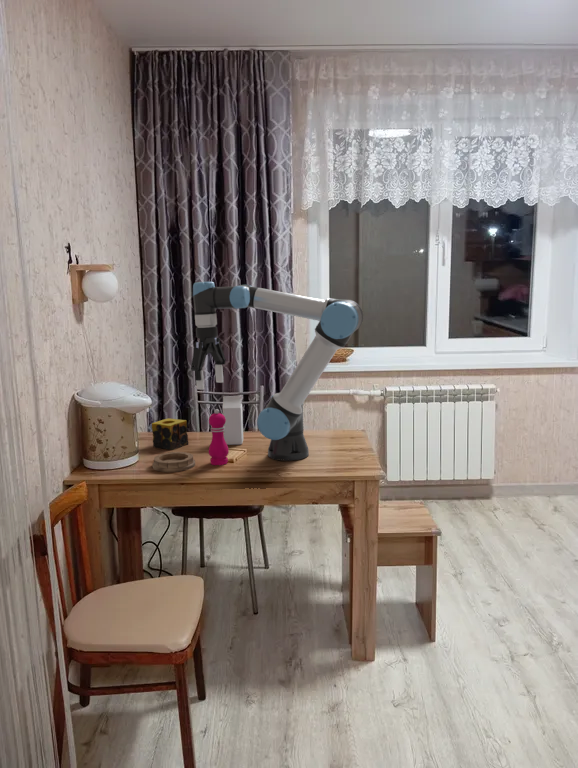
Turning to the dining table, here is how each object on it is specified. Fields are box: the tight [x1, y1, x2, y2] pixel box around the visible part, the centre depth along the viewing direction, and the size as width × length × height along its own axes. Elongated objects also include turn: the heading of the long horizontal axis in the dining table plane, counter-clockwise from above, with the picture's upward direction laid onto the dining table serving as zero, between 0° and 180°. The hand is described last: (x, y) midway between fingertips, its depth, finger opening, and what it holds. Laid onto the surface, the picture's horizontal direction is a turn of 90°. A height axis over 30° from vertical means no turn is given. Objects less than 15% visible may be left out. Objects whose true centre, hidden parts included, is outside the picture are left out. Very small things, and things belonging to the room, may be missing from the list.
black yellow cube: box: [151, 418, 189, 451], centre depth 270 cm, size 10×10×10 cm
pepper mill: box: [208, 408, 230, 466], centre depth 244 cm, size 7×7×20 cm
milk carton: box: [222, 395, 244, 446], centre depth 272 cm, size 7×7×19 cm
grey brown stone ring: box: [152, 451, 196, 473], centre depth 244 cm, size 15×15×3 cm
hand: (210, 385), depth 242 cm, fingers open, 13 cm apart
